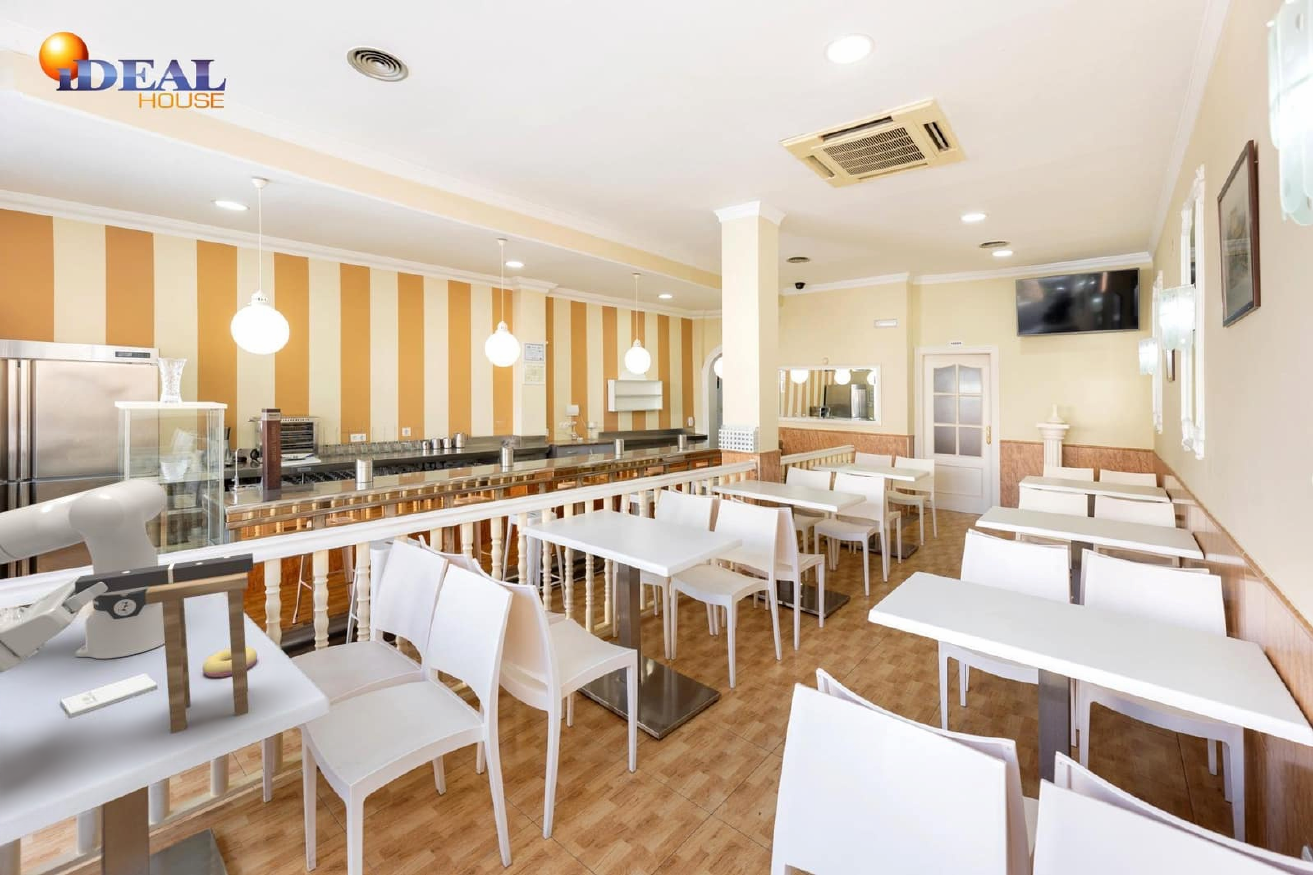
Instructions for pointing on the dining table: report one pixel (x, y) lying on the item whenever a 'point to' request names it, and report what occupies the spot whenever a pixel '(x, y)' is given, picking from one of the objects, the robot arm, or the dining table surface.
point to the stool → (177, 641)
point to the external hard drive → (107, 695)
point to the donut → (225, 663)
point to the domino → (168, 573)
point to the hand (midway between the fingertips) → (108, 580)
